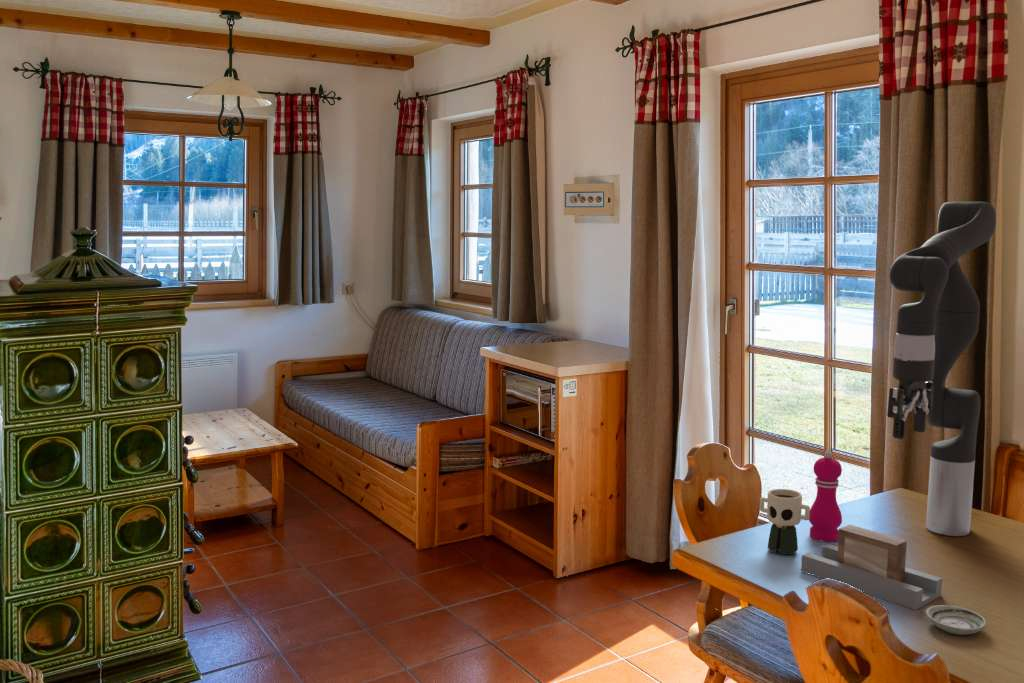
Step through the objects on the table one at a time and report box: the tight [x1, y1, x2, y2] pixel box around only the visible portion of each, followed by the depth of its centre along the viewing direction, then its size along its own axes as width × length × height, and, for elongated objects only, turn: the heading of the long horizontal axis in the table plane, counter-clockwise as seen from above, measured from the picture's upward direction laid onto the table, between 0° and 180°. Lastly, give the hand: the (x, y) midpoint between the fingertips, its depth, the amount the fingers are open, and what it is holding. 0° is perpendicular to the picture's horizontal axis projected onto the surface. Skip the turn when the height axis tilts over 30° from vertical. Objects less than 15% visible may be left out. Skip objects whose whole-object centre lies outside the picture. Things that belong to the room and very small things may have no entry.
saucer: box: [925, 604, 987, 636], centre depth 161 cm, size 10×10×2 cm
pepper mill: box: [808, 450, 843, 543], centre depth 205 cm, size 7×7×20 cm
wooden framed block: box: [837, 524, 908, 583], centre depth 180 cm, size 4×12×9 cm, turn 40°
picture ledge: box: [800, 543, 943, 611], centre depth 180 cm, size 10×24×4 cm, turn 40°
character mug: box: [759, 488, 811, 555], centre depth 197 cm, size 11×7×13 cm, turn 55°
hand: (909, 434), depth 185 cm, fingers open, 8 cm apart
